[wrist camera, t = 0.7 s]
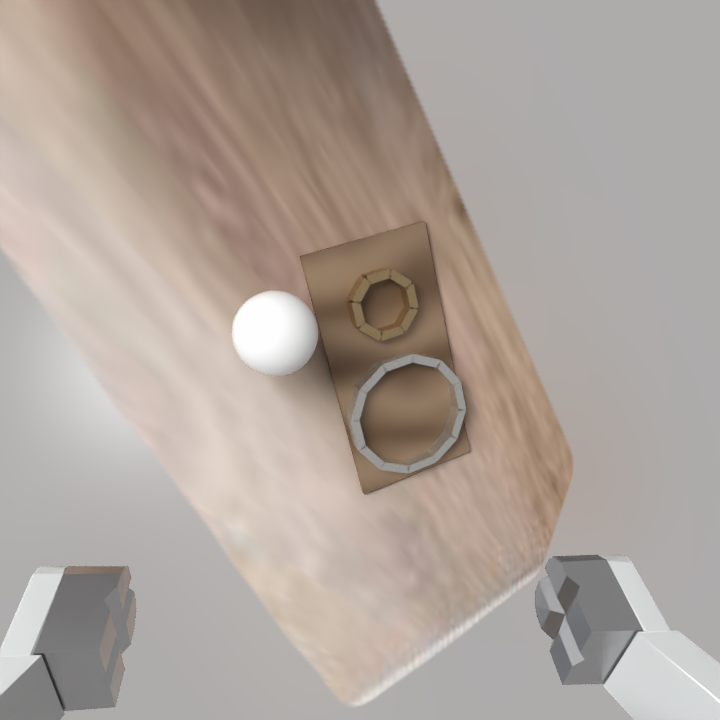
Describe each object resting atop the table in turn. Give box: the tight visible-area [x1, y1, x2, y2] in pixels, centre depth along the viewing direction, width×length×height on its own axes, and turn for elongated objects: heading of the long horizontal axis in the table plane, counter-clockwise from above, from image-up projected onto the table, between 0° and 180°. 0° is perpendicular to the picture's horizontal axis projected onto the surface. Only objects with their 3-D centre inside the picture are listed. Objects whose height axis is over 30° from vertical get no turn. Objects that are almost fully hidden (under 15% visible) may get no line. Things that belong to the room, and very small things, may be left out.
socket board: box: [300, 221, 470, 494], centre depth 55 cm, size 24×12×2 cm, turn 14°
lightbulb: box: [232, 290, 318, 376], centre depth 45 cm, size 6×6×11 cm
